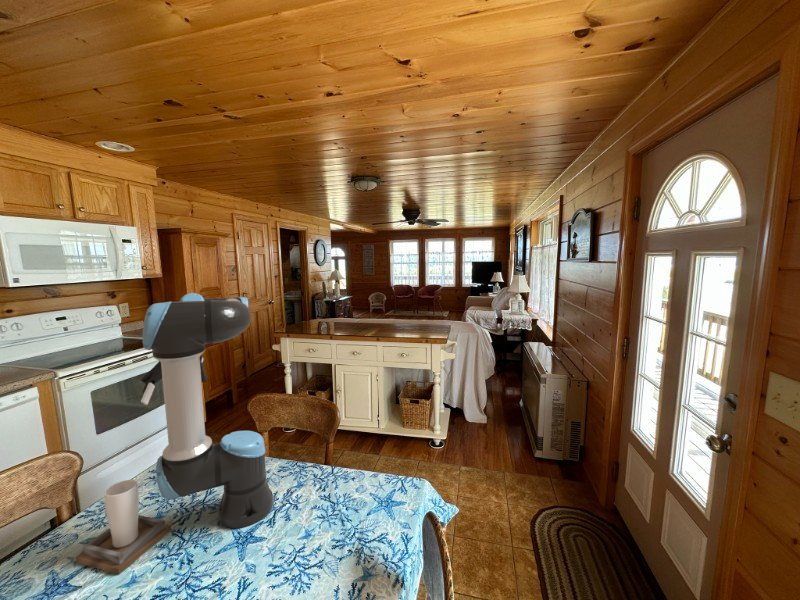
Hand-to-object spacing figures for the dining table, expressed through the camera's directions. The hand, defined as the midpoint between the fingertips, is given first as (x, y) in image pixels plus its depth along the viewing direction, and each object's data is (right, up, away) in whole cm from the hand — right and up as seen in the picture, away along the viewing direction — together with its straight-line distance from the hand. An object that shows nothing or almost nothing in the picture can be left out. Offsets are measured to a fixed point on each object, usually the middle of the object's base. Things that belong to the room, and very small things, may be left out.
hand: (166, 402), depth 109 cm
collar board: (+4, -32, -20) cm, 38 cm away
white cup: (+4, -30, -21) cm, 37 cm away
